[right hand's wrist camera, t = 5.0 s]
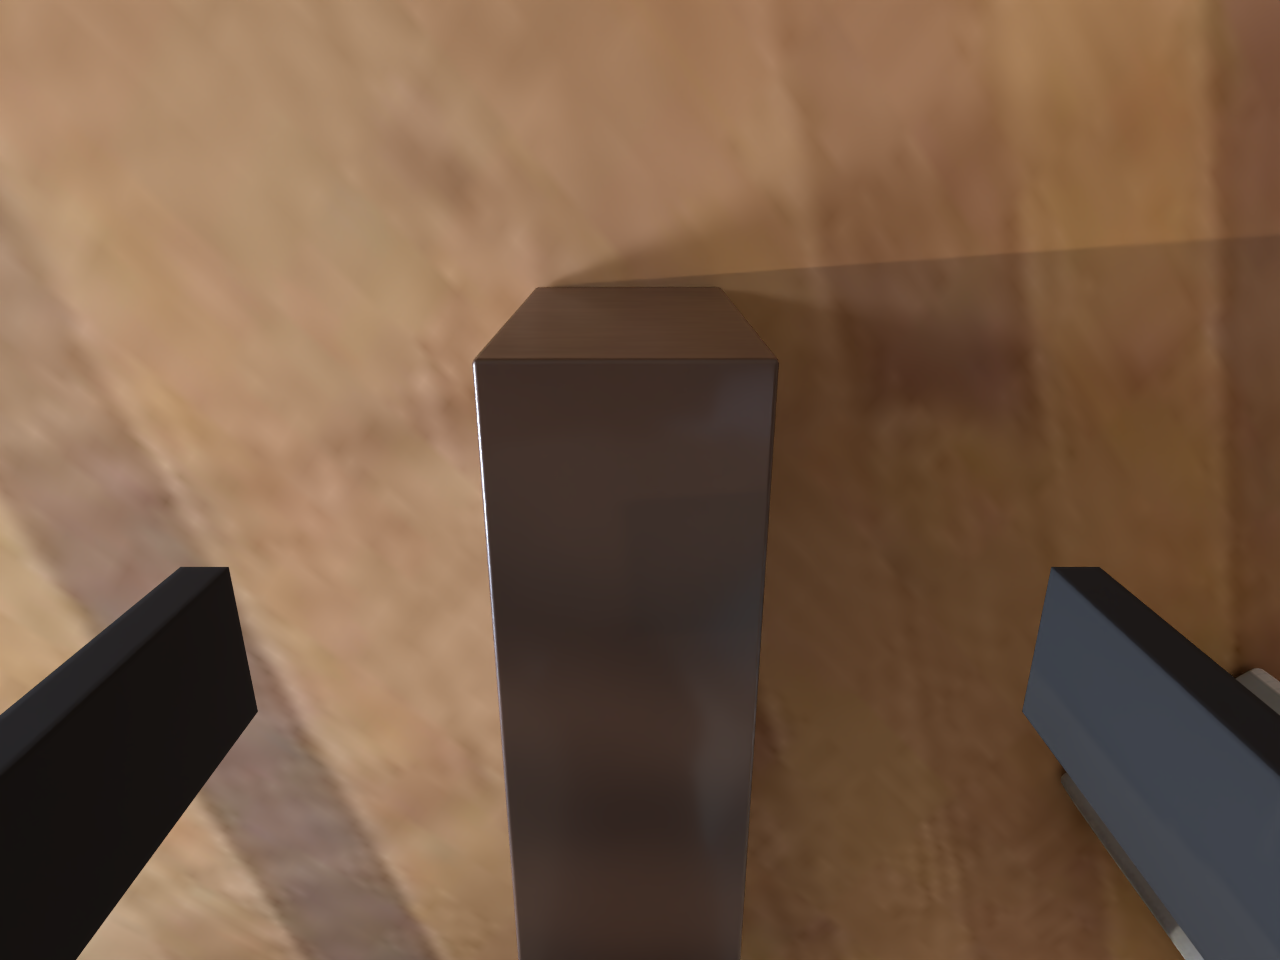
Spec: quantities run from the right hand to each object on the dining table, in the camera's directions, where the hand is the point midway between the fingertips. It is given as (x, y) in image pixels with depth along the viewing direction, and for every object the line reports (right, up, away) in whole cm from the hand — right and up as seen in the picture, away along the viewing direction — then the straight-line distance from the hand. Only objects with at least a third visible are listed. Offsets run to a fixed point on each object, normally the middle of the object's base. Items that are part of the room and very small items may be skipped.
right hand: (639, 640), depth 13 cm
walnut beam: (0, -7, +14) cm, 16 cm away
